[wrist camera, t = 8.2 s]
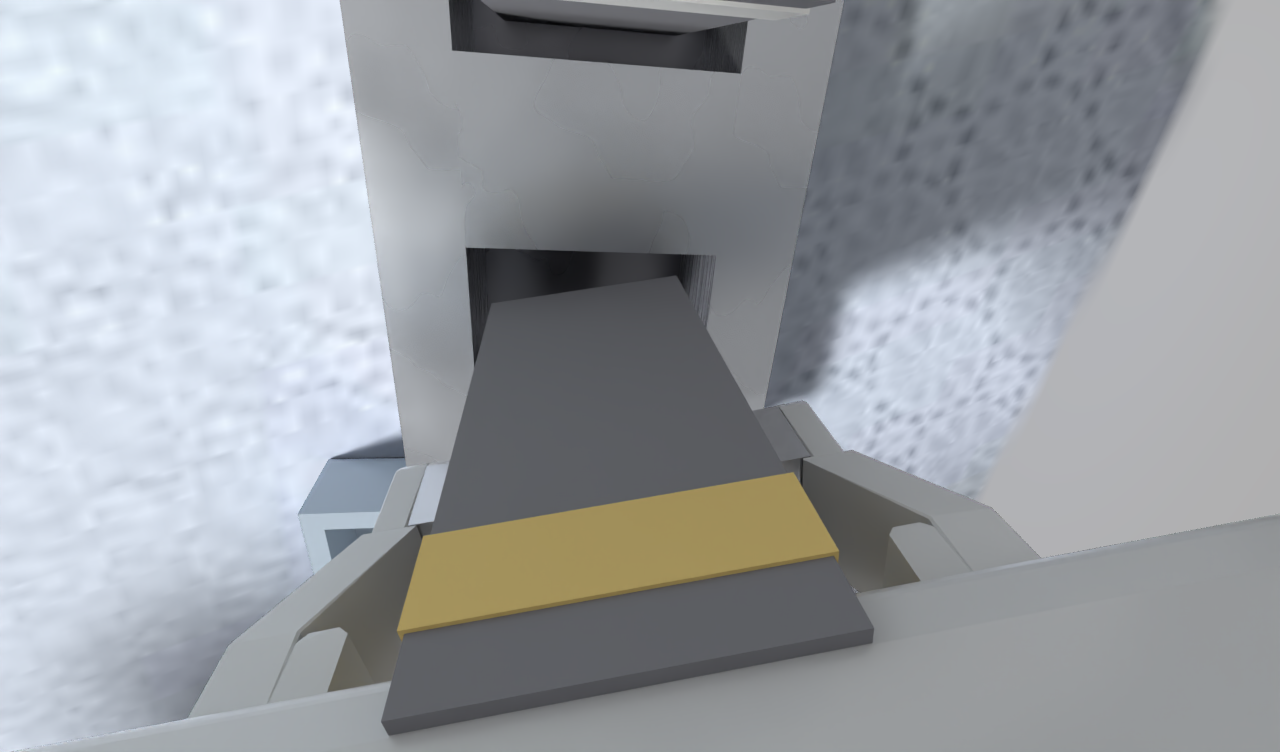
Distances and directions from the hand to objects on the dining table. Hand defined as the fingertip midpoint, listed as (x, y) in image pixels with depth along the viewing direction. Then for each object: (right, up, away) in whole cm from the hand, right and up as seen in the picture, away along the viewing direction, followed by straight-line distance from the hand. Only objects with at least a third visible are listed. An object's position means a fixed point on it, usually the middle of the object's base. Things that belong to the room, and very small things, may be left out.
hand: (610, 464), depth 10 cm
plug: (0, +2, +3) cm, 4 cm away
